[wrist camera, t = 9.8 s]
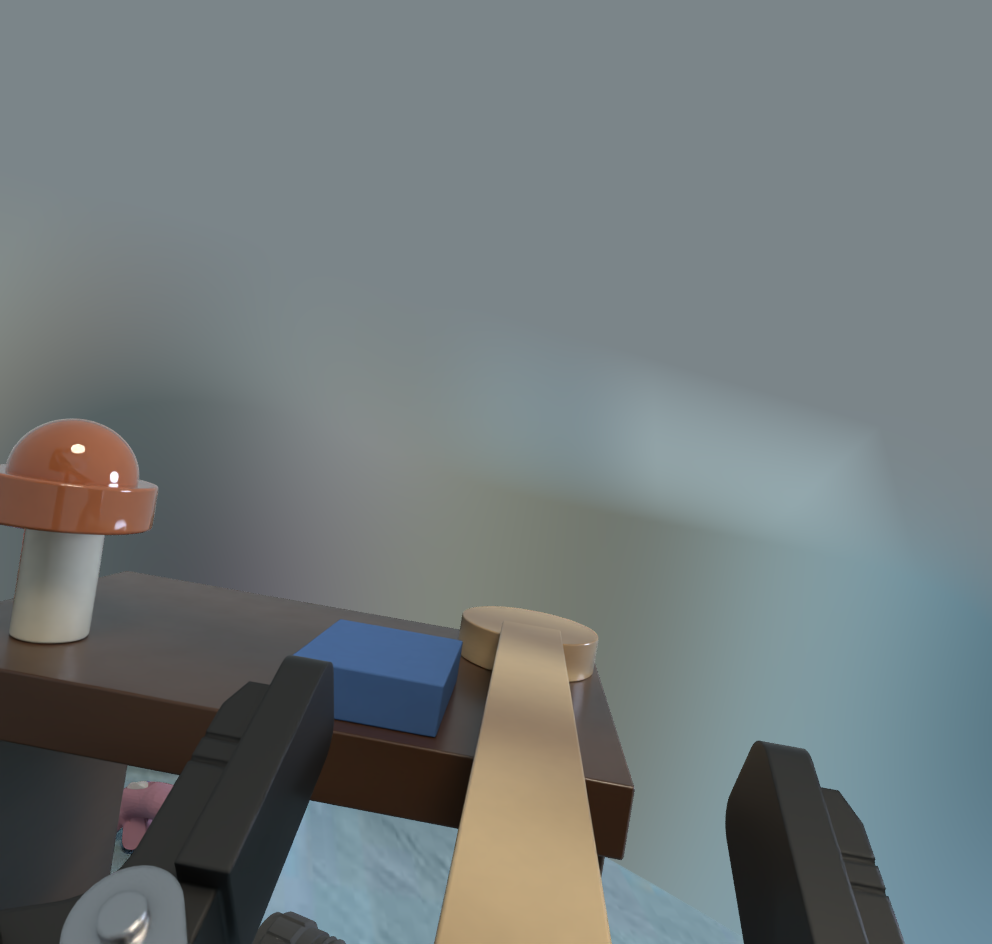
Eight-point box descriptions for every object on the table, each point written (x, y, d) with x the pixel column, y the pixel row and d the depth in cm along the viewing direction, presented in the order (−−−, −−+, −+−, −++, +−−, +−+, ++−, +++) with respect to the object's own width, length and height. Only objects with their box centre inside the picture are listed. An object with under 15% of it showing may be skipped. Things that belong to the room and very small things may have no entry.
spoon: (464, 631, 26) (470, 588, 26) (587, 653, 25) (594, 610, 25) (252, 1106, 6) (281, 937, 6) (751, 1215, 6) (781, 1038, 6)
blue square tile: (333, 659, 20) (339, 618, 20) (456, 682, 20) (463, 640, 20) (279, 710, 16) (287, 657, 16) (435, 738, 16) (444, 685, 16)
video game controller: (192, 892, 59) (229, 804, 62) (157, 893, 55) (199, 800, 58) (104, 853, 62) (144, 771, 65) (66, 852, 58) (110, 765, 61)
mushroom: (105, 666, 17) (143, 430, 17) (-85, 648, 16) (-46, 401, 16) (152, 623, 21) (183, 433, 21) (2, 607, 20) (33, 409, 20)
